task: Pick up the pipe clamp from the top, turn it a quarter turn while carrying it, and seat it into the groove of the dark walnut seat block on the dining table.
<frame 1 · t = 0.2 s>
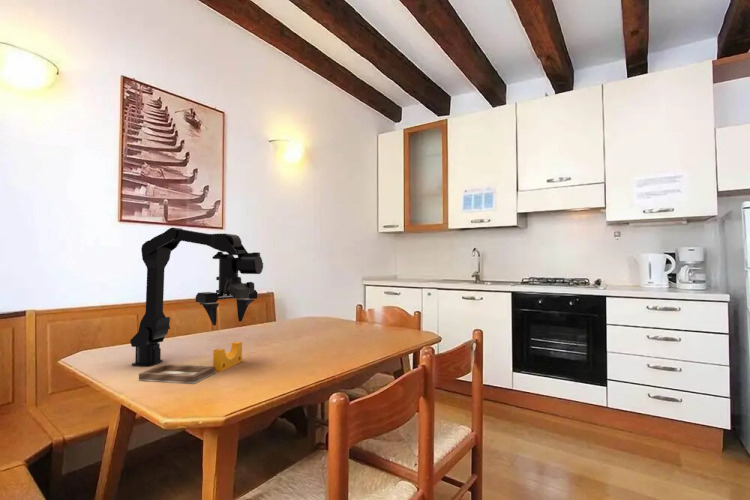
hand: (227, 323, 122), 14 cm above the table, tool pointing down, fingers open, 9 cm apart
pipe clamp: (225, 366, 124), on the table
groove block: (178, 376, 112), on the table
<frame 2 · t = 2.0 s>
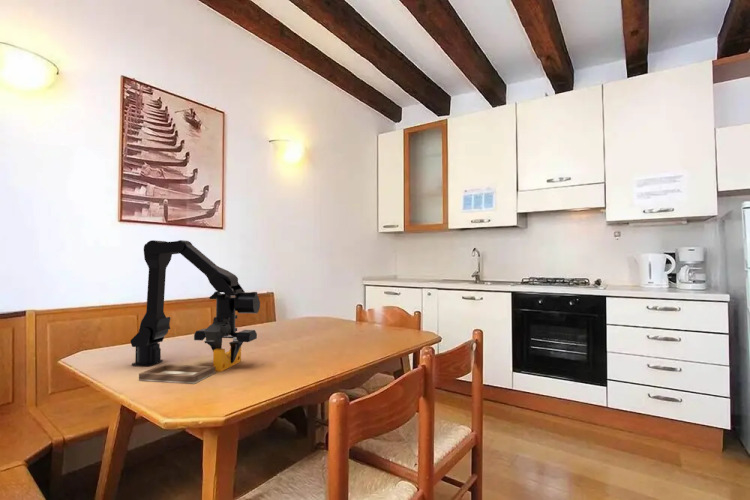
hand: (225, 362, 124), 1 cm above the table, tool pointing down, fingers closed on pipe clamp, 4 cm apart
pipe clamp: (225, 366, 124), on the table, touching gripper
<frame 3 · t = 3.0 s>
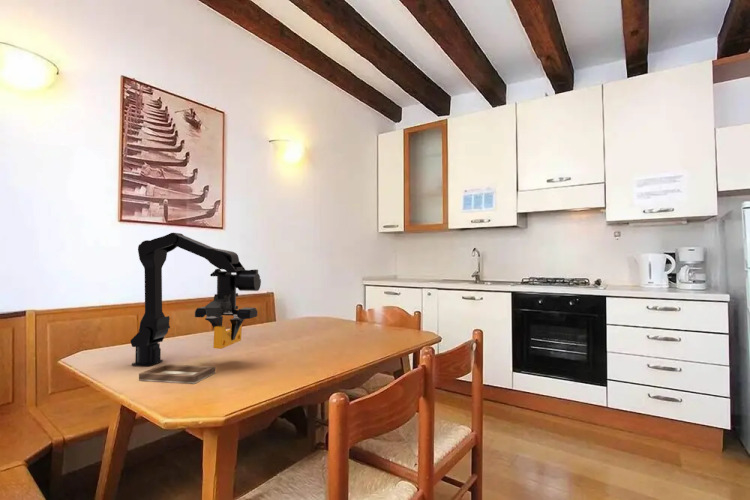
hand: (225, 339, 124), 8 cm above the table, tool pointing down, fingers closed on pipe clamp, 4 cm apart
pipe clamp: (225, 344, 124), point 7 cm above the table, touching gripper
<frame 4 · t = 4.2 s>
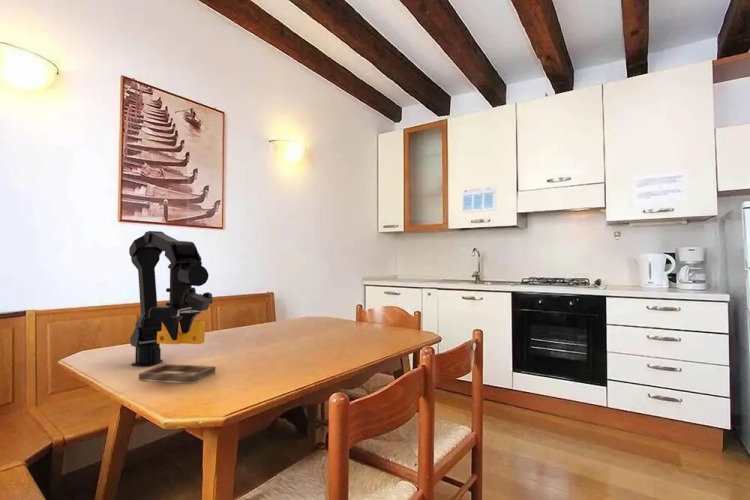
hand: (179, 338, 113), 11 cm above the table, tool pointing down, fingers closed on pipe clamp, 4 cm apart
pipe clamp: (180, 343, 112), point 9 cm above the table, touching gripper
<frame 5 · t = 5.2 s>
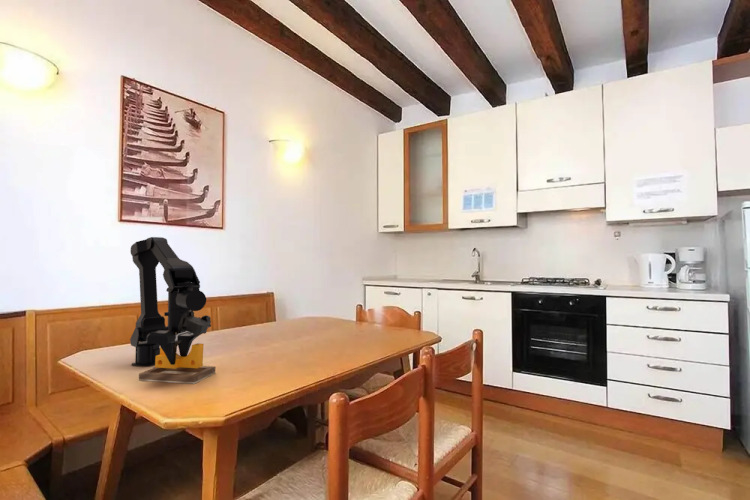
hand: (178, 362, 112), 4 cm above the table, tool pointing down, fingers closed on pipe clamp, 4 cm apart
pipe clamp: (179, 367, 112), point 3 cm above the table, touching gripper
when the fingers open (2 cm above the table, at t = 5.8 s): pipe clamp stays where it is, resting on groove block.
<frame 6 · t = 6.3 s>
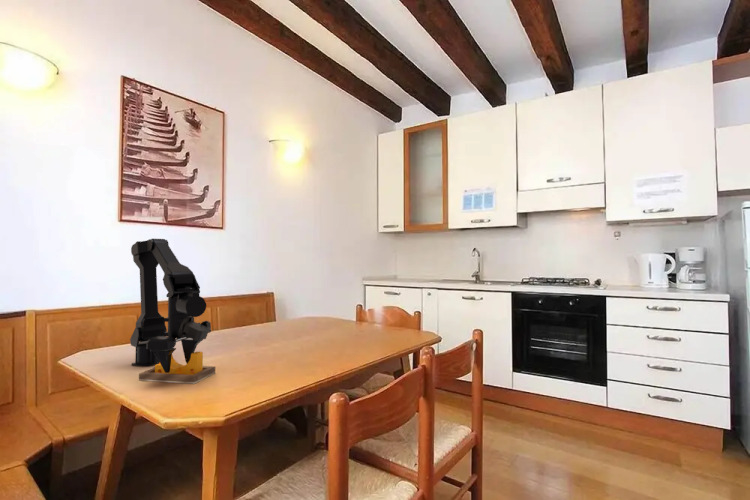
hand: (178, 367, 112), 2 cm above the table, tool pointing down, fingers open, 9 cm apart
pipe clamp: (178, 376, 112), resting on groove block
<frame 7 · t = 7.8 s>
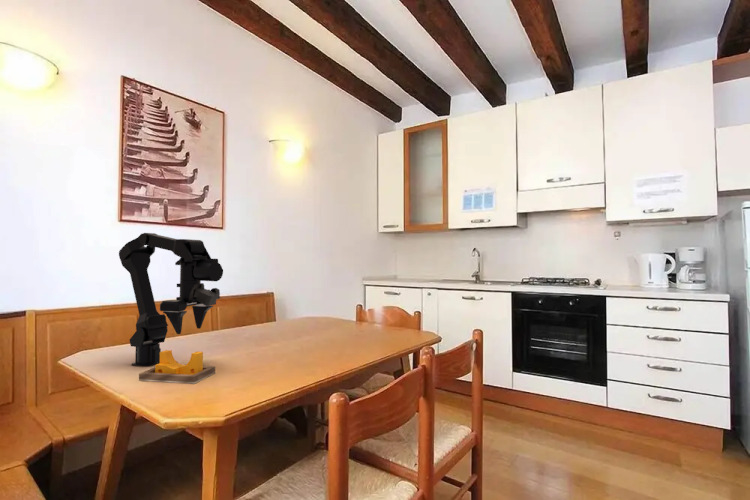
hand: (189, 331, 119), 12 cm above the table, tool pointing down, fingers open, 9 cm apart
nothing on the table moved.
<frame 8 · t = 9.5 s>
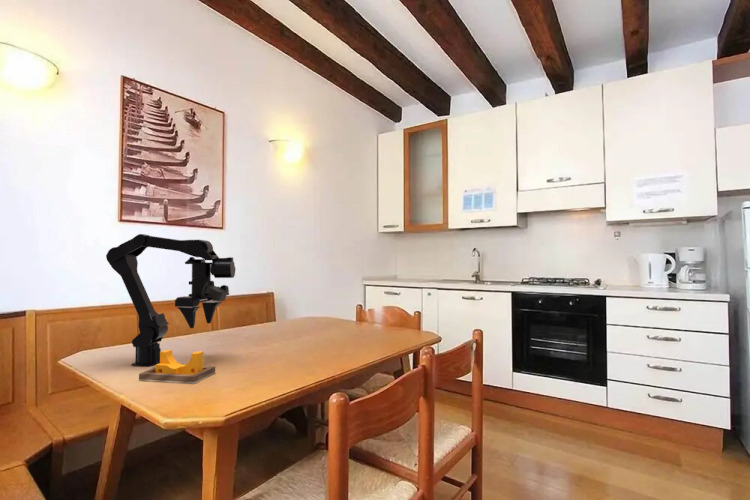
hand: (200, 325, 128), 12 cm above the table, tool pointing down, fingers open, 9 cm apart
nothing on the table moved.
at the end: pipe clamp inside the target area on the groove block (0.3 cm from its centre), point 0.2 cm above the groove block's base; the gripper is holding nothing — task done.
